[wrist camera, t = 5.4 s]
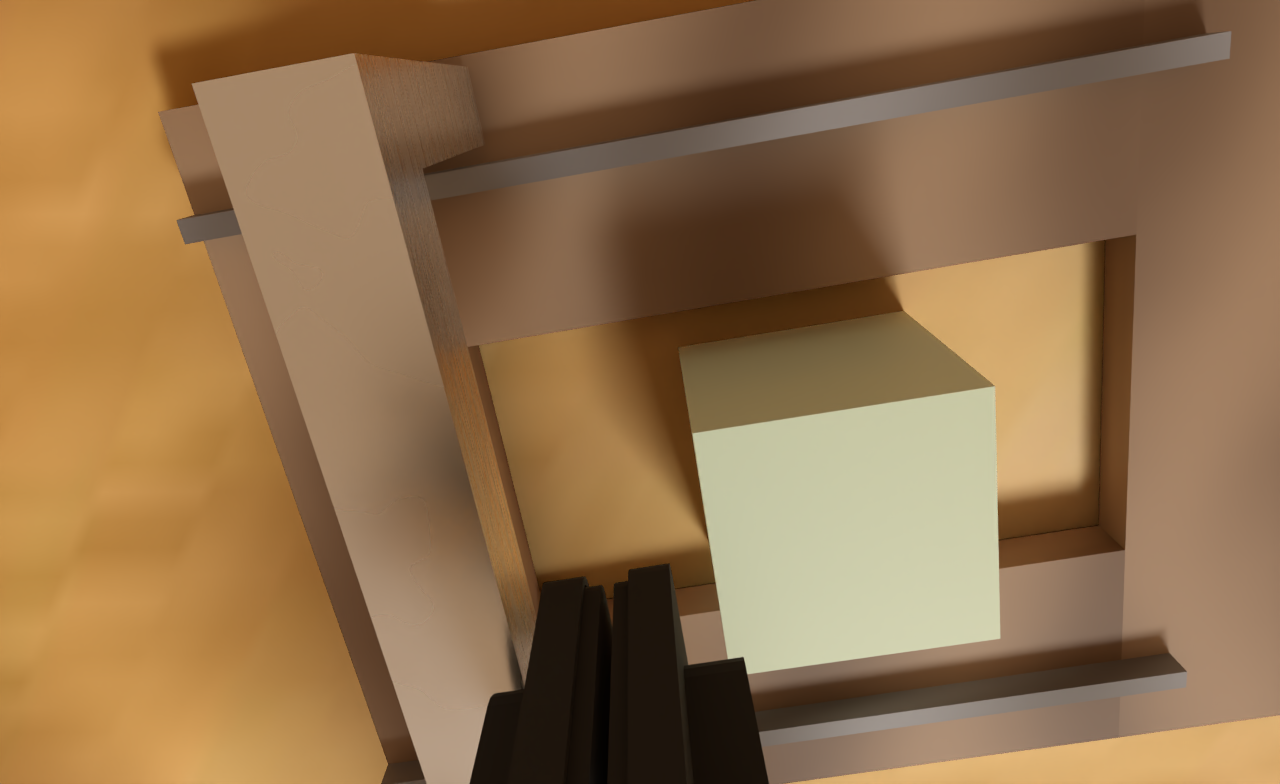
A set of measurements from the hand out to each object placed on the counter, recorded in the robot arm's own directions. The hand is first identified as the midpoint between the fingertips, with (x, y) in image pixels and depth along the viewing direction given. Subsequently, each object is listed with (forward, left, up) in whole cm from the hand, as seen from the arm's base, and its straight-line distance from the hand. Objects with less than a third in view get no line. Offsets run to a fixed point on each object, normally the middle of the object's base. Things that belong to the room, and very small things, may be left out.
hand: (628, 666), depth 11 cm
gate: (+2, 0, -5) cm, 6 cm away
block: (-4, 0, -7) cm, 7 cm away
